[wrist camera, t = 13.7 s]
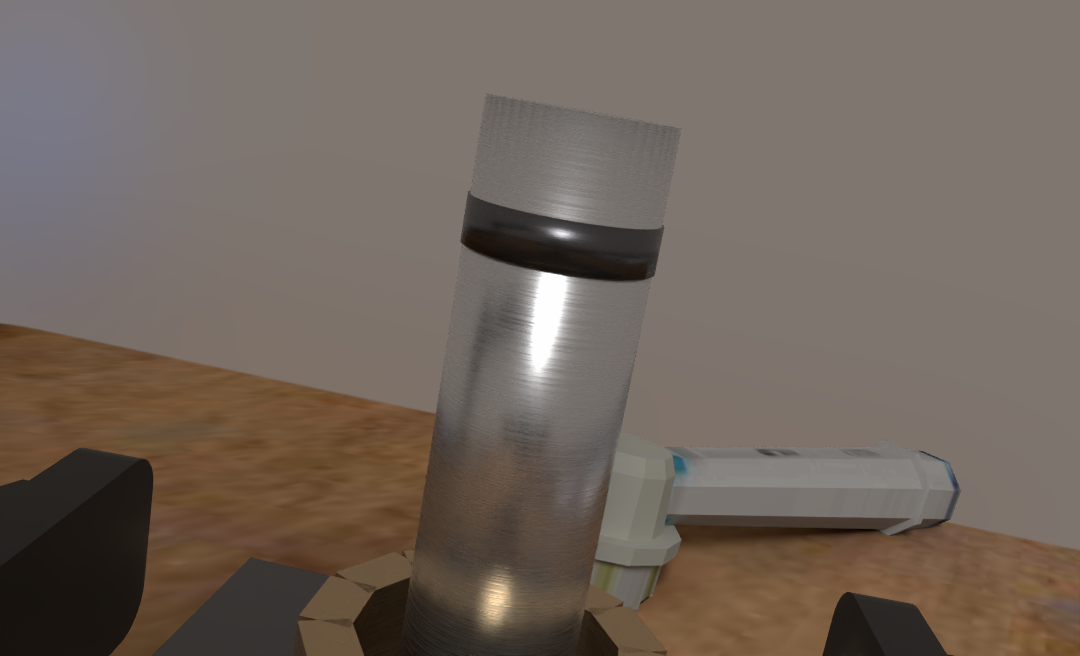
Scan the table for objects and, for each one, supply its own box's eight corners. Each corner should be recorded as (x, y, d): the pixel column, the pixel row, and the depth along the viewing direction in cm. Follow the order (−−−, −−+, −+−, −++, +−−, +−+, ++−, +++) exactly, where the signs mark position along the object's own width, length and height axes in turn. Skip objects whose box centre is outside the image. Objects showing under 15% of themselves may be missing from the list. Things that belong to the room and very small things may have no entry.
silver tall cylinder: (352, 825, 22) (462, 90, 18) (404, 717, 26) (503, 96, 22) (533, 873, 21) (682, 130, 18) (557, 755, 25) (684, 128, 22)
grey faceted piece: (985, 471, 49) (621, 438, 33) (939, 594, 50) (564, 620, 34) (894, 432, 53) (531, 387, 37) (853, 547, 54) (483, 550, 38)
